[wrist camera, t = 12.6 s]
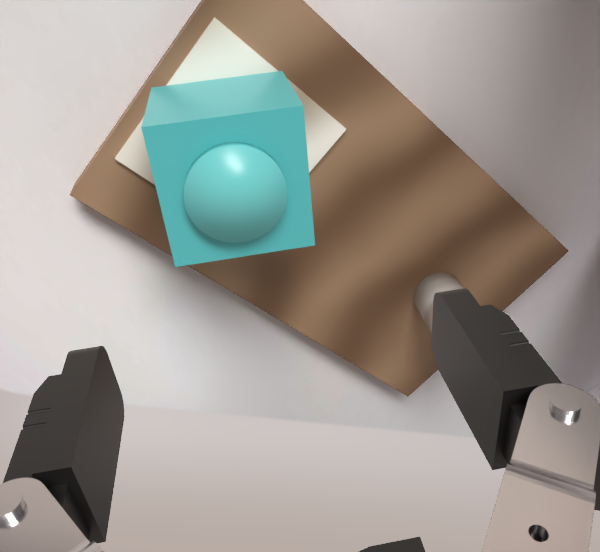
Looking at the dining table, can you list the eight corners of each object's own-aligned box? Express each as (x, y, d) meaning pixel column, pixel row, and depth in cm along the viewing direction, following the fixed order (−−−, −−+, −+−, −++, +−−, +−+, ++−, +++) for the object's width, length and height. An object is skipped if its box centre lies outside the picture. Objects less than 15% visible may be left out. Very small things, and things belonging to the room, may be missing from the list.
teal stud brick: (282, 70, 26) (306, 109, 21) (294, 190, 30) (317, 251, 24) (151, 87, 26) (140, 132, 20) (178, 207, 29) (174, 274, 23)
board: (555, 239, 36) (614, 290, 31) (401, 381, 40) (431, 447, 35) (241, -57, 25) (253, -52, 20) (74, 183, 29) (50, 237, 24)
